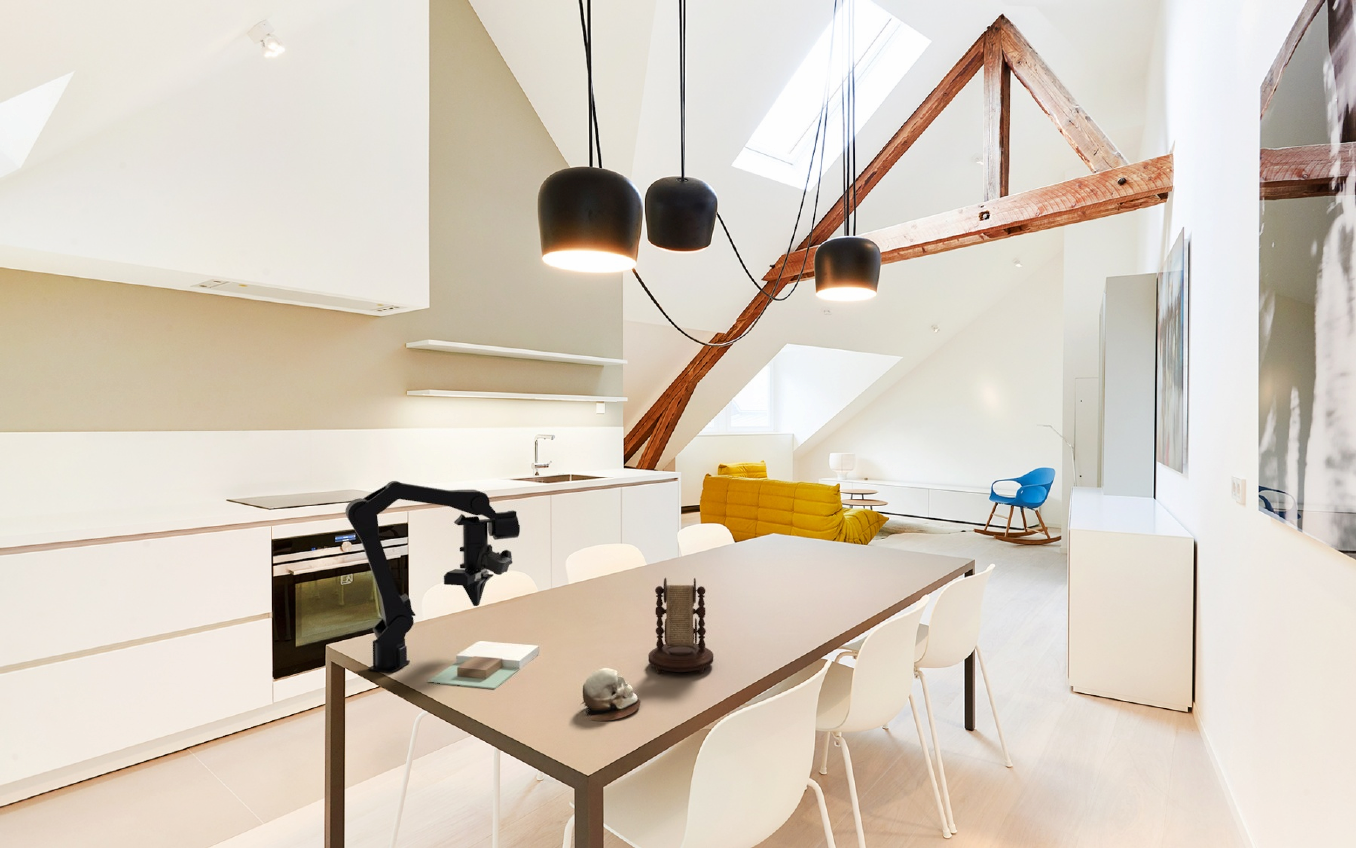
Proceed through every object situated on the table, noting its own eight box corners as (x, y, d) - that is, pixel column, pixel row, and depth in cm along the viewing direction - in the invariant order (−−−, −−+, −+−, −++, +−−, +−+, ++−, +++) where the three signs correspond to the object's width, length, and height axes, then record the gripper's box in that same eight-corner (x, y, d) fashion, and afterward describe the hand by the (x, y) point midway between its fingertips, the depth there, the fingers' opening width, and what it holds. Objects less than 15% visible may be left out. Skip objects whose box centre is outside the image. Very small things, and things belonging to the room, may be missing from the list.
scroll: (645, 678, 143) (644, 586, 143) (651, 654, 158) (651, 570, 158) (713, 679, 143) (712, 586, 142) (713, 654, 157) (712, 570, 157)
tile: (457, 676, 144) (457, 667, 144) (474, 665, 151) (474, 656, 151) (486, 679, 143) (486, 670, 143) (502, 667, 150) (502, 658, 150)
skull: (634, 685, 137) (640, 660, 131) (639, 736, 130) (646, 712, 123) (576, 688, 135) (579, 663, 128) (577, 740, 127) (581, 717, 121)
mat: (427, 682, 142) (427, 681, 142) (455, 664, 153) (455, 663, 153) (494, 689, 138) (494, 687, 138) (519, 670, 149) (519, 668, 149)
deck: (456, 664, 153) (456, 655, 153) (479, 649, 162) (479, 641, 162) (519, 669, 149) (519, 660, 149) (539, 654, 159) (539, 645, 159)
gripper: (485, 550, 150) (486, 619, 150) (523, 536, 168) (524, 597, 169) (442, 548, 153) (442, 616, 153) (484, 534, 171) (484, 595, 171)
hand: (476, 605), depth 161 cm, fingers closed
